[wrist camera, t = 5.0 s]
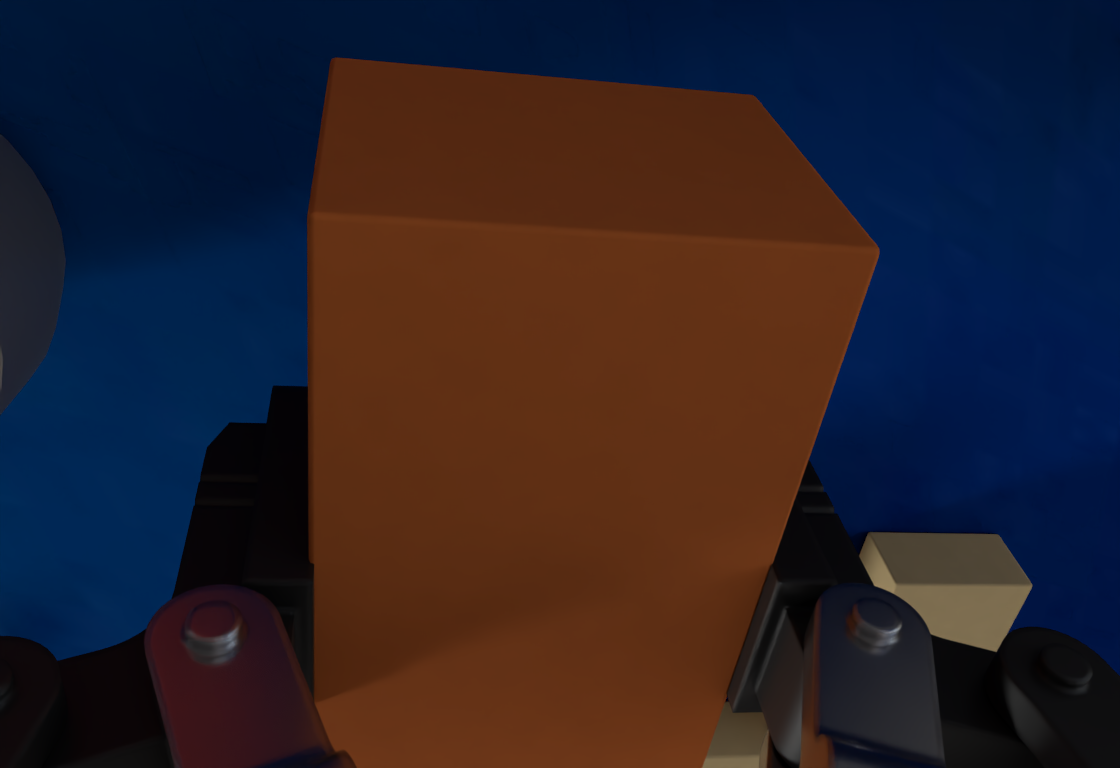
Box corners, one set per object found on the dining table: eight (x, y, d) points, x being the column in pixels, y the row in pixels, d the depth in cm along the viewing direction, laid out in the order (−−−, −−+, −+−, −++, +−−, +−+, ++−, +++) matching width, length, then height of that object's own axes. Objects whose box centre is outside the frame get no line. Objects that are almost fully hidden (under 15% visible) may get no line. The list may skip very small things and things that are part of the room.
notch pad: (456, 841, 34) (459, 901, 32) (497, 525, 26) (503, 581, 25) (853, 827, 36) (874, 881, 35) (998, 533, 29) (1034, 585, 27)
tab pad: (325, 656, 17) (309, 892, 14) (330, 54, 11) (306, 212, 8) (619, 652, 18) (668, 872, 15) (755, 93, 12) (883, 250, 9)
